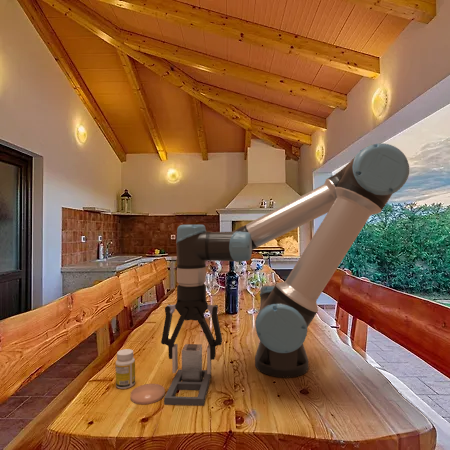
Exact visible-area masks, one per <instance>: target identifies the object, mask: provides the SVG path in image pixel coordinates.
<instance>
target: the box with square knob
mask: <svg viewBox="0 0 450 450" xmlns="http://www.w3.org/2000/svg"><path fill="white" fill-rule="evenodd" d="M181 370H182V381H181V382H202V381H203V377H202V370H203V345H202V344H197V343H194V344H193V343H185V344H184V345H183V348H182V349H181Z"/></svg>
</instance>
